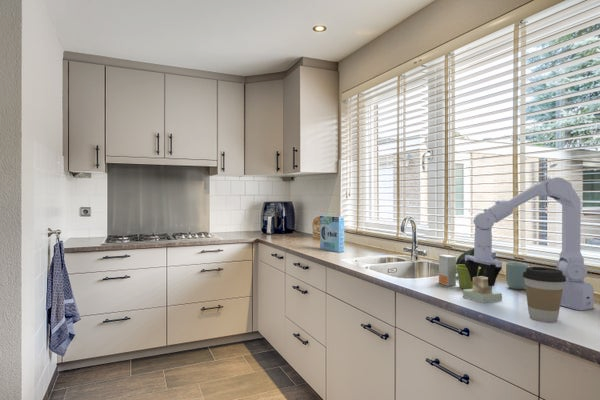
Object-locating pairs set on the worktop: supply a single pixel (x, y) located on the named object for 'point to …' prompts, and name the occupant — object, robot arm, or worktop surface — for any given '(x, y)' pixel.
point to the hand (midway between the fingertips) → (482, 283)
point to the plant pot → (465, 276)
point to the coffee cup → (544, 292)
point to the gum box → (332, 233)
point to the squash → (462, 261)
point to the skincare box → (447, 270)
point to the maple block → (481, 285)
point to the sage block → (482, 296)
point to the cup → (515, 275)
